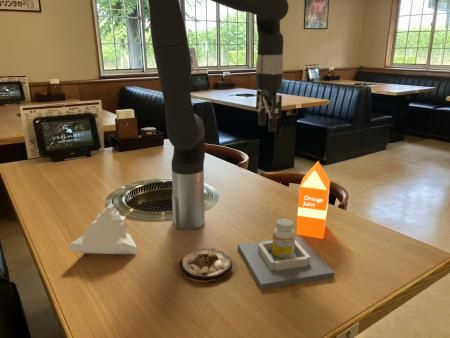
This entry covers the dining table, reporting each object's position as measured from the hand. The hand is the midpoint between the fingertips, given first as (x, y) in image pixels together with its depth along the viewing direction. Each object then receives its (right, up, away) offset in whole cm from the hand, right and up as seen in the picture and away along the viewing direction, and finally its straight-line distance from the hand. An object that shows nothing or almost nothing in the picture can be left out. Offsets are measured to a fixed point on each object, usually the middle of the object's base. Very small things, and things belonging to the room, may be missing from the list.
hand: (267, 128), depth 109 cm
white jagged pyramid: (-43, -34, -12) cm, 56 cm away
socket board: (+2, -35, -17) cm, 39 cm away
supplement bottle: (+2, -34, -17) cm, 38 cm away
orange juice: (+13, -30, -1) cm, 33 cm away
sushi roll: (-17, -37, -19) cm, 45 cm away
